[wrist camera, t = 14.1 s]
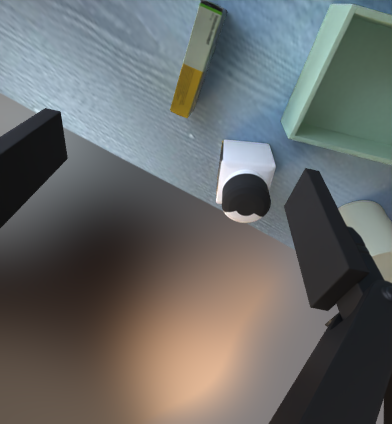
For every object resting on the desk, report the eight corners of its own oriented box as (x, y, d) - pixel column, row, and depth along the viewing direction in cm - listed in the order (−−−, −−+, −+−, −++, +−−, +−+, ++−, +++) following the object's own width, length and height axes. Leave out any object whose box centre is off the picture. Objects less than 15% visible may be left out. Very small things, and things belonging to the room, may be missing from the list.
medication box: (206, -1, 29) (200, -4, 26) (228, 9, 29) (225, 7, 26) (176, 104, 36) (168, 111, 33) (194, 112, 36) (188, 120, 33)
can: (318, 216, 46) (341, 269, 37) (373, 190, 42) (415, 244, 33) (339, 245, 50) (364, 300, 41) (391, 225, 46) (433, 281, 37)
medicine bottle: (222, 138, 39) (221, 180, 30) (270, 142, 39) (283, 187, 29) (217, 178, 43) (214, 226, 34) (259, 183, 43) (268, 232, 34)
